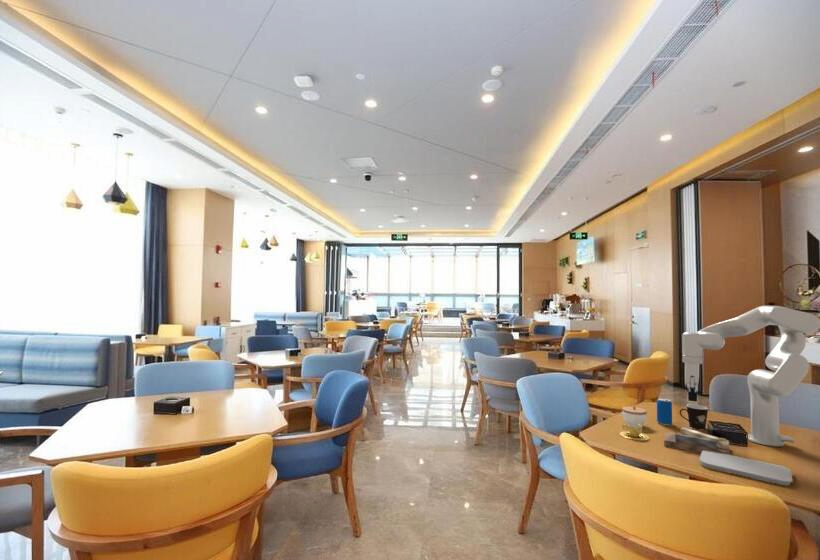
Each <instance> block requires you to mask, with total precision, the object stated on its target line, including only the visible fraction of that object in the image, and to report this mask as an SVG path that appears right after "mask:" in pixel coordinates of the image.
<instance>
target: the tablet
mask: <svg viewBox="0 0 820 560" xmlns="http://www.w3.org/2000/svg"><path fill="white" fill-rule="evenodd" d="M699 462H700V463H701V466H703V467H704V468H707V469H711V470H715V471H720V472H723V471H724V472H723V473H727V472H730V473H729V474H731V473H734V474H733V475H736V474H738V475H737V476H740V475H742V477H744V476H745V478H749V477H750V479H754V480H758V481H761V480H762V482H766V483H770V482H772V483H771V484H774V483H777V484H776V485H779V484H780V485H779V486H783V485H785V486H786V487H787V485H789V486H790V485H791V483H792V484H793V482H794V481H793V475H792V471H791V469H790V468H788V467H786V466H783V465H779V464H775V463H771V462H765V461H761V460H757V459H751V458H746V457H741V456H738V455H737V456H736V455H732V454H730V455H728V454H723V453H719V452H714V451H708V450H704V451H702V453H700V456H699ZM785 486H784V487H785Z"/></svg>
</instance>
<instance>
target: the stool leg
mask: <svg viewBox="0 0 820 560" xmlns="http://www.w3.org/2000/svg"><path fill="white" fill-rule="evenodd" d="M679 430H680V431H679V434H681V435H686V436H692V437H698V438H703V439H709V440H715V441H717V447H719V448H722V449H728V448H729V449H730V440H727V438H724V437H718V436H715V435H711V434H707V433H704V432H701V431H697V430H695V429H692V428H687V427H681V428H679Z"/></svg>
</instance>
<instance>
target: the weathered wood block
mask: <svg viewBox="0 0 820 560" xmlns="http://www.w3.org/2000/svg"><path fill="white" fill-rule="evenodd" d="M663 440H664V441H663V442H664V443H663V445H664V447H667V446H668V447H667V448H672V447H673V449H677V450H682V449H683V451H687V450H688V452H694V453H699V454H701V453H702V451H704V450H708V451H714V452H719V453H723V454H728V455H731V454H730V447H729V448H728V449H722V448H719V447H717V441H715V440H709V439H703V438H698V437H692V436H686V435H681V434H680V433H675V432H670V431H666V432H665V435H664V439H663Z"/></svg>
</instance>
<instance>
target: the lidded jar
mask: <svg viewBox="0 0 820 560" xmlns="http://www.w3.org/2000/svg"><path fill="white" fill-rule="evenodd" d="M621 413H622V414H621V415H622V418H623V420H624V422H625V424H627V423H638V424H641V425H642V426H643V425H645V424H646V422H647V421H646V420H647V413H648V412H647V410H646V409H645V408H642V407H638V406H637V407H636V405H633V406H622V407H621Z"/></svg>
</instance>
